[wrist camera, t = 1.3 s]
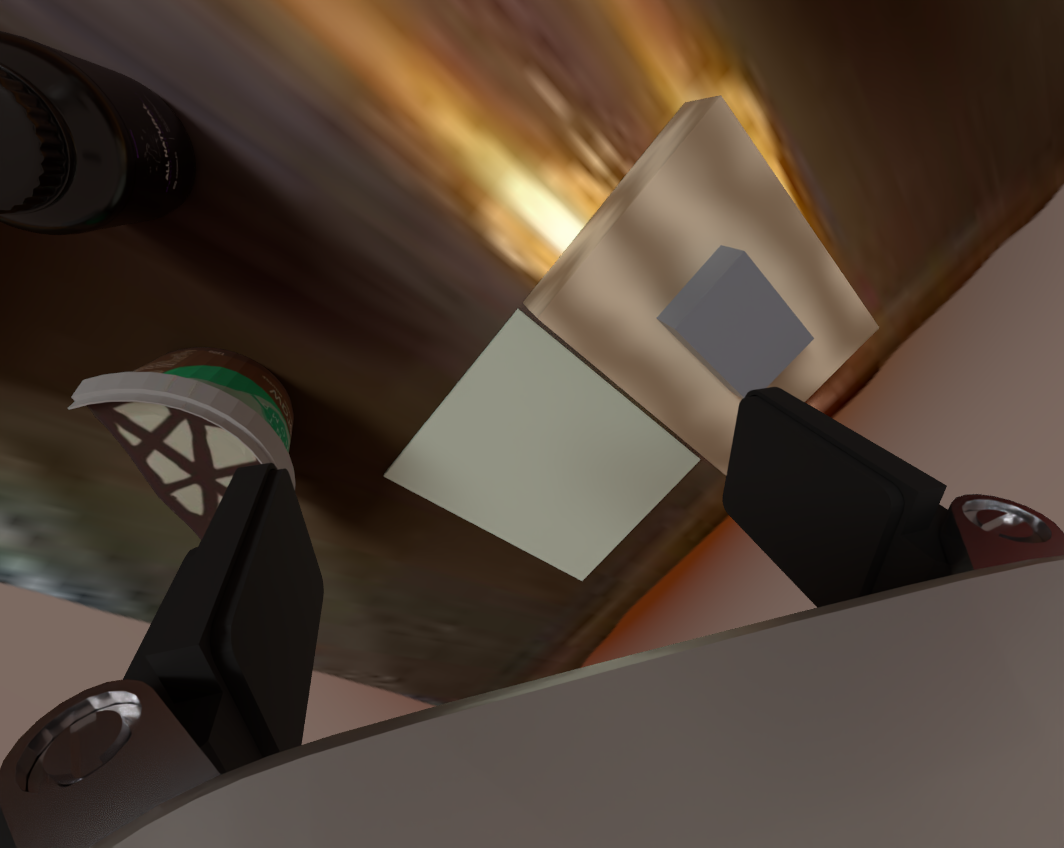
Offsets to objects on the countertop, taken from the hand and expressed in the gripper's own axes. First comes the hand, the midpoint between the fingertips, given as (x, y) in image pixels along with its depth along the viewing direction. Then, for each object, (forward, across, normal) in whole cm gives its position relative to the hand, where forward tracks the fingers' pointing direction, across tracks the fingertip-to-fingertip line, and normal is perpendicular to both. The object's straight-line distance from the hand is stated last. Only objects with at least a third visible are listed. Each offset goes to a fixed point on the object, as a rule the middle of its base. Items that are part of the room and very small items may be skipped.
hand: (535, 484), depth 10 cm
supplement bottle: (+26, +15, -7) cm, 31 cm away
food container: (+26, +13, +8) cm, 30 cm away
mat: (+26, -8, +17) cm, 32 cm away
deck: (+26, -19, +5) cm, 32 cm away
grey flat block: (+22, -19, +5) cm, 29 cm away
